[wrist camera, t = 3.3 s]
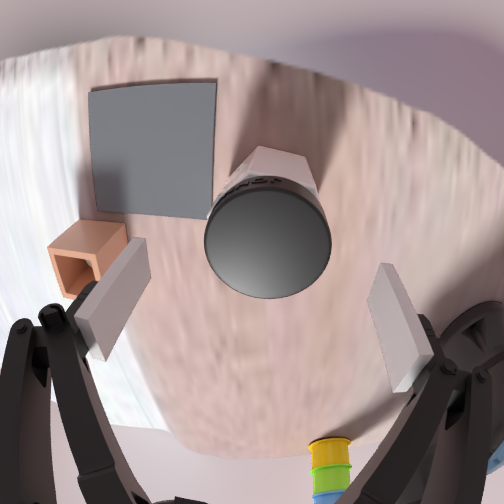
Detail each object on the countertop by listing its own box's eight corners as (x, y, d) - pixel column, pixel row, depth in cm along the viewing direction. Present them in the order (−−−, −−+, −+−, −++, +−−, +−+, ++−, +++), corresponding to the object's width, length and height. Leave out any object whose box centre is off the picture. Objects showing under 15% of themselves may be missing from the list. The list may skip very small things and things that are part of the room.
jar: (273, 127, 26) (267, 152, 15) (333, 185, 28) (363, 245, 18) (212, 192, 29) (174, 253, 19) (271, 241, 32) (265, 320, 22)
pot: (125, 223, 32) (95, 254, 26) (132, 272, 36) (109, 307, 30) (79, 219, 32) (47, 247, 26) (89, 265, 36) (63, 296, 30)
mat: (216, 83, 24) (215, 82, 23) (211, 218, 31) (211, 220, 31) (90, 92, 24) (88, 92, 24) (99, 209, 32) (97, 211, 31)
